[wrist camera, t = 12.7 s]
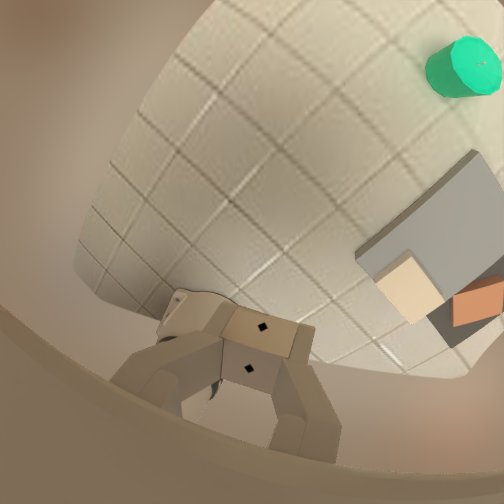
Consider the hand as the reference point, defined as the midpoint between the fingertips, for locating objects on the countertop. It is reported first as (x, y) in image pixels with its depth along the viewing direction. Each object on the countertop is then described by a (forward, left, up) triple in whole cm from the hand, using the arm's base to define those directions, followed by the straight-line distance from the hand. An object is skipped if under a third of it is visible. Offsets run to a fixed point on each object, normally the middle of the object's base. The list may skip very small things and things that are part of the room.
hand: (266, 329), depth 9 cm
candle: (+20, -2, -31) cm, 37 cm away
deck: (+5, -18, -31) cm, 36 cm away
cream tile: (-2, -19, -29) cm, 34 cm away
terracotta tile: (+4, -30, -31) cm, 43 cm away
